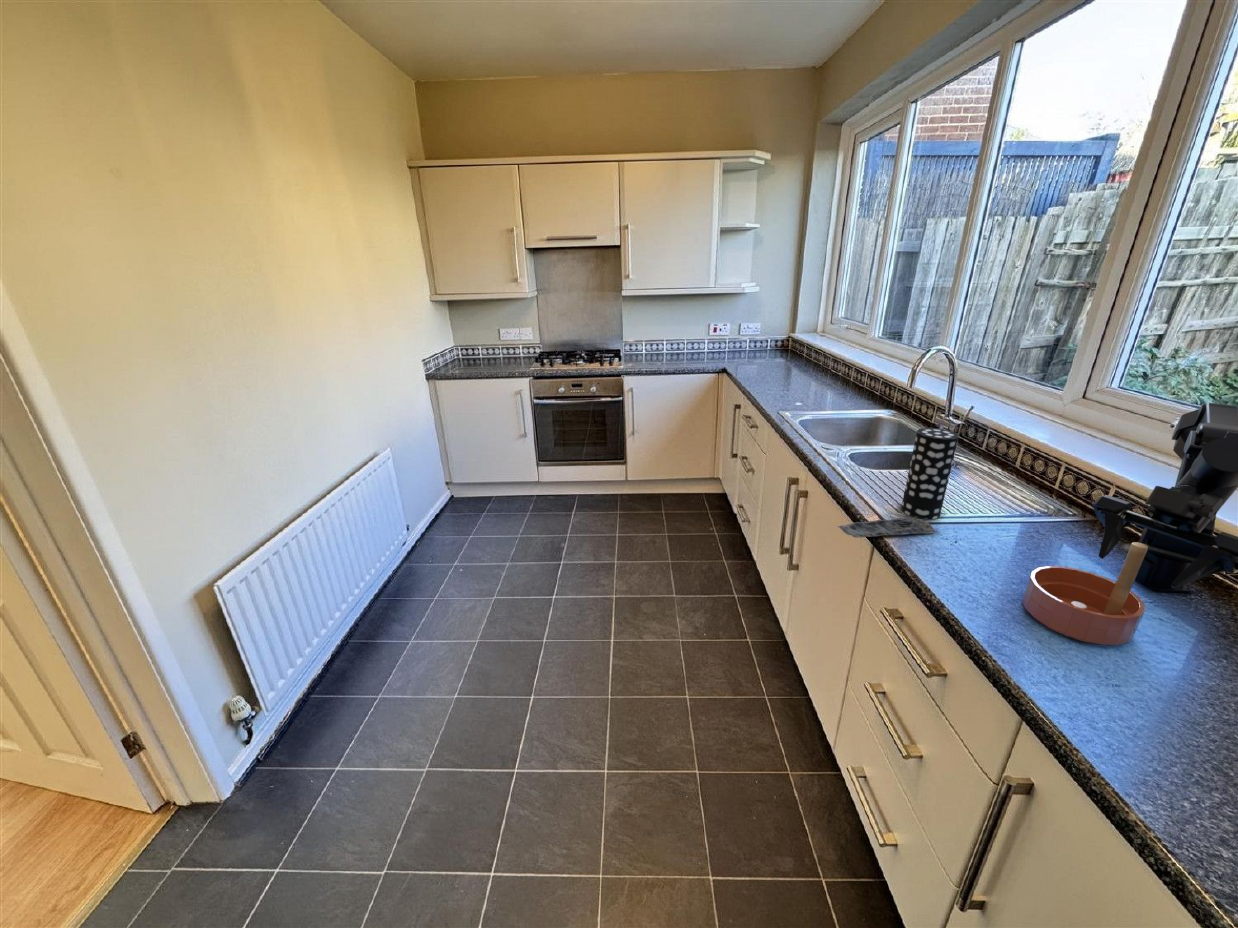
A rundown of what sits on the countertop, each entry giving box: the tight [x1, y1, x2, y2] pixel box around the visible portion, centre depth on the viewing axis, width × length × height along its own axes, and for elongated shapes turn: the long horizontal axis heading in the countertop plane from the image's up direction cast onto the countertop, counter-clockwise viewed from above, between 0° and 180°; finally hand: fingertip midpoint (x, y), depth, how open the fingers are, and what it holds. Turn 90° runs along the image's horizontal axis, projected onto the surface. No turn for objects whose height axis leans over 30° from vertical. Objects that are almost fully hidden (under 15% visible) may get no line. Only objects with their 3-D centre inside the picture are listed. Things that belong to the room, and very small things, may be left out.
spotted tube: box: [900, 427, 960, 520], centre depth 120 cm, size 8×8×20 cm
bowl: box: [1021, 565, 1146, 646], centre depth 85 cm, size 14×14×6 cm
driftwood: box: [837, 517, 937, 539], centre depth 115 cm, size 21×7×2 cm, turn 96°
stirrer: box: [1059, 541, 1148, 615], centre depth 83 cm, size 10×2×15 cm, turn 32°
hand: (1134, 571), depth 81 cm, fingers open, 9 cm apart
